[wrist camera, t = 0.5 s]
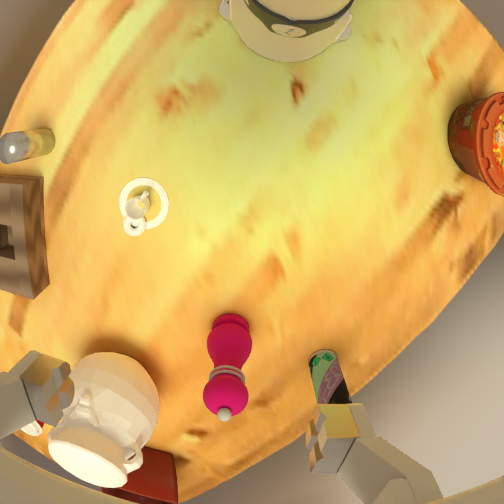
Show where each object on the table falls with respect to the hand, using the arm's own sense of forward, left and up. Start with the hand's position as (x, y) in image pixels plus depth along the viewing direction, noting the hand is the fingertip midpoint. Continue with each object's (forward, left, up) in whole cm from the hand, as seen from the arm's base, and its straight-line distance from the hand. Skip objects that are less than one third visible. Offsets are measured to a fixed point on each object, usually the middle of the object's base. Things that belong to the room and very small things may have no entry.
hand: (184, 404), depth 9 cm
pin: (-4, -32, -38) cm, 50 cm away
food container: (-17, +38, -39) cm, 57 cm away
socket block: (+12, -38, -38) cm, 55 cm away
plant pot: (+75, -14, -39) cm, 86 cm away
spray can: (+29, +21, -38) cm, 53 cm away
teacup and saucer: (+5, -16, -39) cm, 42 cm away
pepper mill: (+24, +3, -38) cm, 45 cm away
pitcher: (+39, -17, -38) cm, 57 cm away
